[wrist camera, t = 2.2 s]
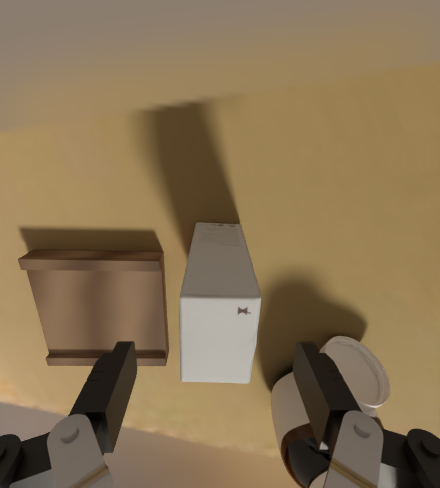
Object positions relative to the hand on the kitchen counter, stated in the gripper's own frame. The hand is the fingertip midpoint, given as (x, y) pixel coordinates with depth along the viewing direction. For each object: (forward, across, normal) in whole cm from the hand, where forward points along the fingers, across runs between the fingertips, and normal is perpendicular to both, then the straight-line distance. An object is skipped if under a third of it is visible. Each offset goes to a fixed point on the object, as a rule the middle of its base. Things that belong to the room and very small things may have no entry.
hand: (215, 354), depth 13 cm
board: (+13, +11, +6) cm, 18 cm away
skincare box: (+13, 0, 0) cm, 13 cm away
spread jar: (+13, -12, +15) cm, 23 cm away
